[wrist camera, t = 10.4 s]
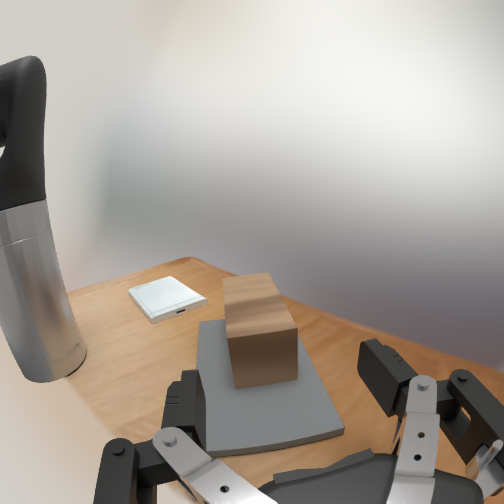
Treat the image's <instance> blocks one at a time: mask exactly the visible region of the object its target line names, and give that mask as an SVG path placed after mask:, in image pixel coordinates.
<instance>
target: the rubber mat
mask: <svg viewBox="0 0 504 504" xmlns="http://www.w3.org/2000/svg"><path fill="white" fill-rule="evenodd" d="M197 369H198V370H199V374H200V377H201V381H202V385H203V389H204V393H205V398H206V453H207V454H208V455H209V456H210V457H222V456H233V455H242V454H250V453H258V452H265V451H271V450H277V449H282V448H288V447H293V446H297V445H302V444H306V443H311V442H315V441H319V440H323V439H327V438H330V437H334V436H337V435H341V434H343V433H344V429H345V427H344V425H343V423H342V421H341V419H340V417H339V415H338V413H337V411H336V409H335V407H334V405H333V403H332V401H331V399H330V397H329V395H328V393H327V391H326V389H325V387H324V385H323V383H322V381H321V379H320V377H319V375H318V373H317V371H316V369H315V367H314V365H313V363H312V361H311V359H310V357H309V355H308V353H307V351H306V349H305V347H304V345H303V343H302V341H301V340H300V338H299V336H298V379H297V380H292V381H286V382H281V383H275V384H269V385H263V386H256V387H249V388H241V389H235V383H234V377H233V372H232V366H231V360H230V354H229V348H228V342H227V333H226V320H225V319H221V320H212V321H203V322H200V327H199V338H198V351H197V365H196V370H197Z"/></svg>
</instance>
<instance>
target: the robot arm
mask: <svg viewBox="0 0 504 504" xmlns="http://www.w3.org/2000/svg"><path fill="white" fill-rule="evenodd" d="M45 107H46V73H45V69H44V66H43V63H42V62H41V60H40V59H39V58H37V57H36V56H27V57H23V58H20V59H17V60H14V61H11V62H9V63H6V64H4V65H1V66H0V148H1V147H4V146H5V149H4V152H3V154H2V156H1V158H0V326H1V328H2V331H3V333H4V335H5V337H6V340H7V342H8V344H9V347H10V349H11V351H12V353H13V355H14V358H15V360H16V362H17V364H18V365H19V367H20V369H21V371H22V373H23V375H24V376H25V378H27V379H28V380H30V381H33V382H38V383H44V382H51V381H55V380H58V379H60V378H63V377H65V376H66V375H68V374H70V373H71V372H73V371H74V370H75V369H76V368H77V367H78V366H79V365H80V364H81V363H82V361H83V360H84V358H85V355H86V348H85V345H84V343H83V340H82V337H81V335H80V332H79V329H78V326H77V323H76V321H75V317H74V314H73V311H72V308H71V305H70V302H69V299H68V296H67V292H66V289H65V285H64V282H63V278H62V275H61V271H60V267H59V263H58V258H57V254H56V250H55V245H54V241H53V235H52V230H51V225H50V219H49V213H48V206H47V200H45V199H46V193H45V169H44V121H45ZM357 368H358V373H359V376H360V377H361V379H362V380H363V382H364V383H365V384H366V386H367V387H368V389H369V390H370V392H371V393H372V395H373V396H374V397H375V399H376V400H377V402H378V403H379V405H380V406H381V408H382V409H383V411H384V412H385V414H386V415H387V417H391V416H393V415H397V416H398V419H397V422H396V426H395V431H394V435H393V439H392V443H391V447H390V451H389V453H388V454H386V453H377V454H373V453H372V451H371V449H367V450H364V451H361V452H358V453H355V454H352V455H349V456H347V457H345V458H344V459H342V460H340V461H338V462H336V463H334V464H333V465H331V466H329V467H327V468H318V469H297V470H293V471H288V472H282V473H277V474H273V479H274V480H273V481H270V482H268V483H266V484H264V485H262V486H261V487H259V488H258V489H256V488H255V487H254V486H252V485H251V484H250V483H248V482H247V481H246V480H244V479H243V478H242V477H240V476H239V475H238V474H236V473H235V472H234V471H233V470H231V469H230V468H229V467H228V466H227V465H225V464H224V463H223V462H222V461H220V460H219V459H217V458H215V459H213V458H211V457H210V456H209V455H208V454H207V453H206V398H205V393H204V389H203V385H202V381H201V377H200V374H199V370H198V369H197V370H184V371H182V376H181V381H174V382H172V384H171V385H170V386H169V388H168V389H167V395H166V401H165V407H164V413H163V419H162V426H161V430H159V431H158V432H157V433H156V434H155V435H154V437H153V439H151V440H149V441H146V442H141V443H137V444H132V442H130V441H129V440H127V439H124V438H116V439H113V440H111V441H109V442H108V443H107V444H106V445H105V447H104V449H103V454H102V458H101V463H100V468H99V473H98V478H97V484H96V489H95V495H94V503H93V504H157V485H159V484H163V483H167V482H171V481H175V480H176V481H177V482H178V483H179V484H180V485H181V486H182V487H183V488H184V489H185V490H186V491H187V492H188V493H189V494H190V495H191V496H192V497H193V498H194V499H195V500H196V501H197V502H198V503H199V504H484V500H485V499H487V498H488V497H489V496H495V495H497V494H499V493H500V492H501V491H502V490H503V489H504V406H503V405H502V404H501V403H500V402H499V401H498V400H497V399H496V398H495V397H494V396H493V395H492V394H491V393H490V391H489V390H488V389H487V388H486V387H485V386H484V385H483V384H482V383H481V382H480V381H479V380H478V379H477V378H476V377H475V376H474V375H473V374H472V373H471V372H469V371H467V370H463V369H458V370H455V371H453V372H452V373H451V375H450V378H449V379H448V380H442V381H435V380H434V379H433V378H431V377H429V376H426V375H418V374H417V373H416V372H415V371H414V370H413V369H412V368H411V366H410V365H409V364H408V363H407V362H406V361H405V360H404V359H403V358H402V357H401V356H399V354H398V353H397V352H396V351H395V350H394V349H393V348H391V347H389V346H387V345H384V346H383V345H382V344H381V343H380V342H379V341H378V340H377V339H376V338H374V339H370V340H366V341H363V342H361V344H360V350H359V357H358V365H357ZM462 407H463V408H464V409H465V410H466V411H467V412H468V414H469V415H470V417H471V421H470V420H469V418H468V417H467V416H466V415H465V414H464V412H463V411H462V410H461V409H462ZM439 427H440V428H441V429H442V431H443V432H444V434H445V435H446V436H447V438H448V439H449V441H450V442H451V444H452V445H453V447H454V448H455V450H456V451H457V452H458V454H459V455H460V457H461V458H462V460H463V461H464V463H465V464H466V470H465V473H466V477H462V476H458V475H454V474H451V473H447V472H444V471H440V470H437V469H435V462H436V455H437V446H438V436H439Z"/></svg>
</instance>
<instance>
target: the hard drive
mask: <svg viewBox="0 0 504 504" xmlns="http://www.w3.org/2000/svg"><path fill="white" fill-rule="evenodd" d="M128 293H129V296H130V297H131V298H132V299H133V301H134V302H135V303H136V304H137V306H138V307H139V308H140V309H141V310H142V312H143V313H144V314H145V315H146V316H147V318H148V319H149V320H150V321H151V322H152V323H153V324H155V323H158V322H161V321H164V320H166V319H169V318H172V317H175V316H178V315H180V314H183V313H186V312H189V311H191V310H194V309H197V308H199V307H202V306H205V305H208V302H207V299H206V298H204V297H202V296H201V295H199V294H198V293H196V292H195V291H193V290H191V289H190V288H188V287H187V286H185V285H184V284H182V283H181V282H179V281H178V280H176V279H174V278H173V277H171V276H169V277H166V278H162V279H159V280H156V281H153V282H150V283H147V284H143V285H140V286H137V287H134V288H131V289H129V290H128Z"/></svg>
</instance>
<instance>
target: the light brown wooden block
mask: <svg viewBox="0 0 504 504" xmlns="http://www.w3.org/2000/svg"><path fill="white" fill-rule="evenodd" d="M222 279H223V294H224V307H225V320H226V333H227V342H228V348H229V354H230V360H231V366H232V372H233V377H234V383H235V389H241V388H249V387H256V386H263V385H269V384H275V383H281V382H286V381H292V380H297V379H298V328H297V326H296V324H295V322H294V320H293V318H292V316H291V314H290V313H289V311H288V309H287V307H286V305H285V303H284V301H283V299H282V297H281V296H280V294H279V292H278V290H277V288H276V286H275V284H274V282H273V281H272V279H271V277H270V275H269V273H260V274H253V275H245V276H236V277H228V278H222Z"/></svg>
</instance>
